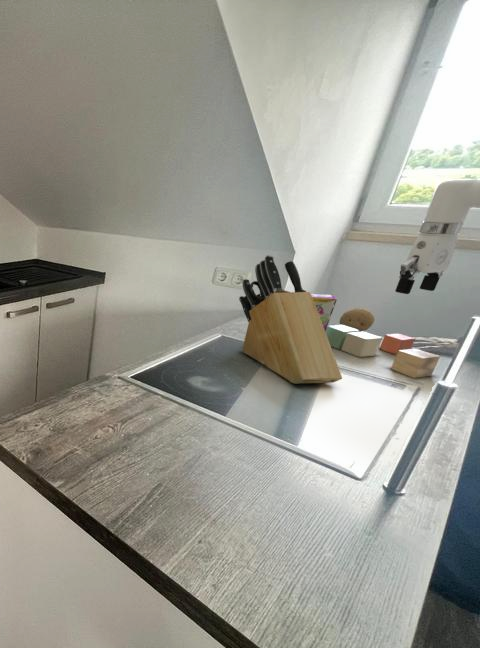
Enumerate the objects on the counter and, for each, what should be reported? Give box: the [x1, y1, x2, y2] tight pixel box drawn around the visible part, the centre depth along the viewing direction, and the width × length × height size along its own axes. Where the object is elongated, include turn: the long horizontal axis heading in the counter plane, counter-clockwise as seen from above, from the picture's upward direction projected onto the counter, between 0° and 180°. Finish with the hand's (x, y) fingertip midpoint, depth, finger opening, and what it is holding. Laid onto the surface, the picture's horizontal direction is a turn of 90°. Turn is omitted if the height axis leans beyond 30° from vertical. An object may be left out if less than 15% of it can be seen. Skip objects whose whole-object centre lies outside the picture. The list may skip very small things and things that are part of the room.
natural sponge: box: [339, 307, 375, 332], centre depth 137 cm, size 9×9×10 cm
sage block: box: [325, 324, 360, 350], centre depth 130 cm, size 6×6×6 cm
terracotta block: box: [379, 332, 416, 356], centre depth 124 cm, size 5×5×5 cm
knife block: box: [238, 254, 343, 385], centre depth 114 cm, size 11×35×31 cm, turn 2°
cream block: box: [340, 331, 383, 358], centre depth 124 cm, size 6×6×6 cm
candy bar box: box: [311, 293, 338, 331], centre depth 131 cm, size 11×5×16 cm, turn 71°
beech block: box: [390, 347, 441, 379], centre depth 110 cm, size 6×6×6 cm
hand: (414, 291), depth 112 cm, fingers open, 9 cm apart
